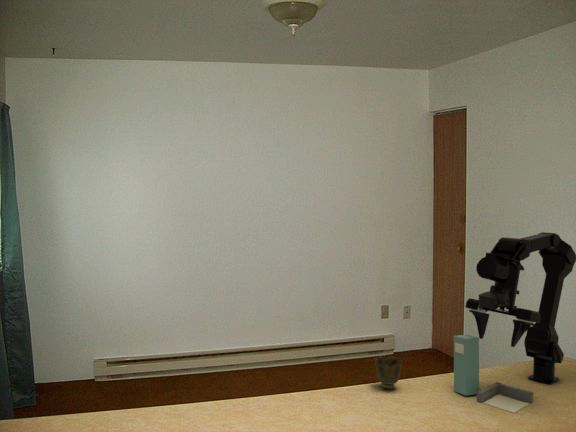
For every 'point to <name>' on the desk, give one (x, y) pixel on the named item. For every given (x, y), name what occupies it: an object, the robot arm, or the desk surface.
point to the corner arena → (503, 401)
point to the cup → (388, 371)
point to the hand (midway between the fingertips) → (496, 342)
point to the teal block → (466, 364)
